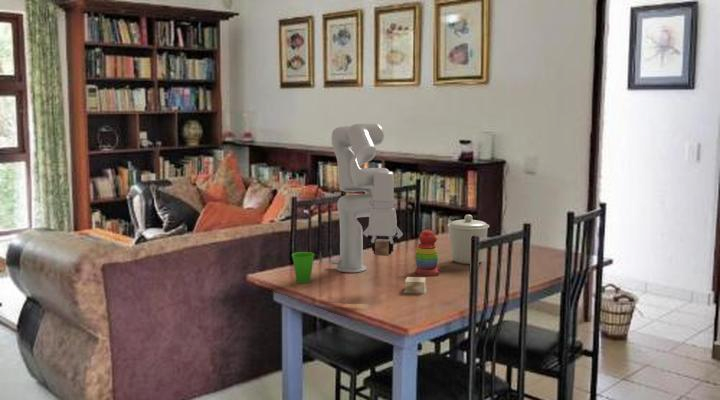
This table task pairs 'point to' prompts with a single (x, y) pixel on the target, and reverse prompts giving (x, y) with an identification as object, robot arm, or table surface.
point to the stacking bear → (427, 254)
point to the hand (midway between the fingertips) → (382, 252)
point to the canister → (465, 238)
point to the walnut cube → (382, 247)
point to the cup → (303, 266)
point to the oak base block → (415, 284)
